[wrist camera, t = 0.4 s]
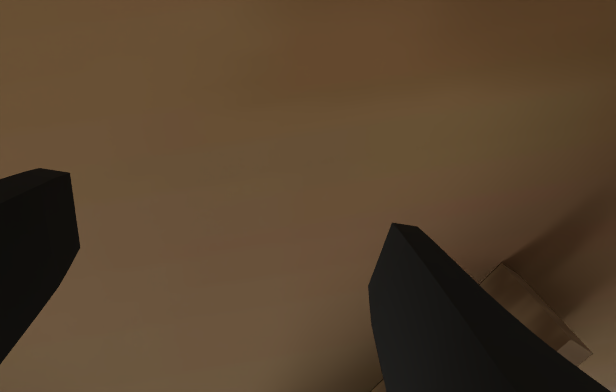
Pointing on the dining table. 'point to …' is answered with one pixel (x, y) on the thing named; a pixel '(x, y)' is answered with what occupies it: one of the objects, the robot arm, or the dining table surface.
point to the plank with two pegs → (530, 315)
